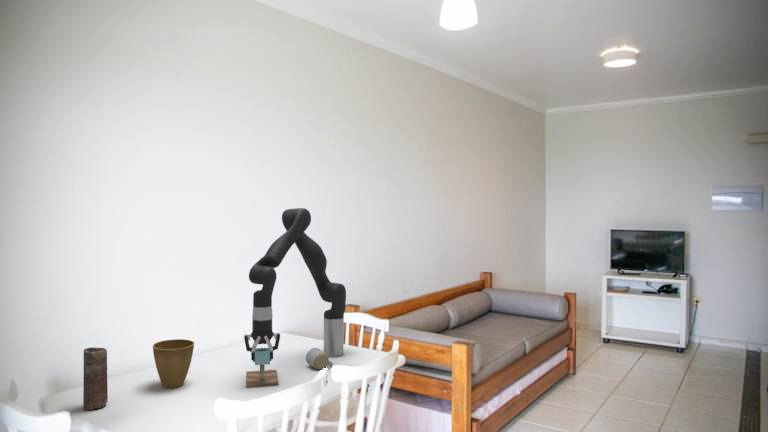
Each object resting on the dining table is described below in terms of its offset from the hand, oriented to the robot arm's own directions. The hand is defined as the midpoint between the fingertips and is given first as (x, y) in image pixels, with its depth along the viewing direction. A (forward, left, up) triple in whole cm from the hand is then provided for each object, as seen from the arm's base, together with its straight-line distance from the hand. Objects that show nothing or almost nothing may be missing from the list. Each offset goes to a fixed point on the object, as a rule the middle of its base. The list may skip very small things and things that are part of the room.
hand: (262, 360), depth 209 cm
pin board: (-5, 0, -9) cm, 10 cm away
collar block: (0, 0, -1) cm, 1 cm away
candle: (+11, -56, -9) cm, 58 cm away
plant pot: (-6, -33, -9) cm, 35 cm away
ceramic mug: (-16, +25, -9) cm, 31 cm away
